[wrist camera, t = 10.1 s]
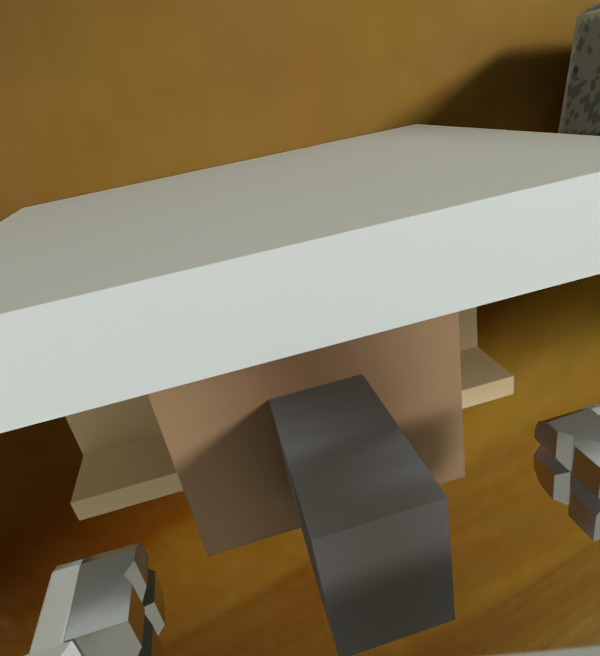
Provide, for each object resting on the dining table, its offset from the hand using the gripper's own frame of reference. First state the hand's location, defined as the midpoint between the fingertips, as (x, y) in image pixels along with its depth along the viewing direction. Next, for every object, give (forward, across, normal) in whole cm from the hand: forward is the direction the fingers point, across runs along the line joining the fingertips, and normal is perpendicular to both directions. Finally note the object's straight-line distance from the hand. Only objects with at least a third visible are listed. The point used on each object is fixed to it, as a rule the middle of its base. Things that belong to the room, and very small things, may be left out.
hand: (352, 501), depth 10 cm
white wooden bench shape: (+14, 0, -1) cm, 14 cm away
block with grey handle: (+9, 0, 0) cm, 9 cm away
